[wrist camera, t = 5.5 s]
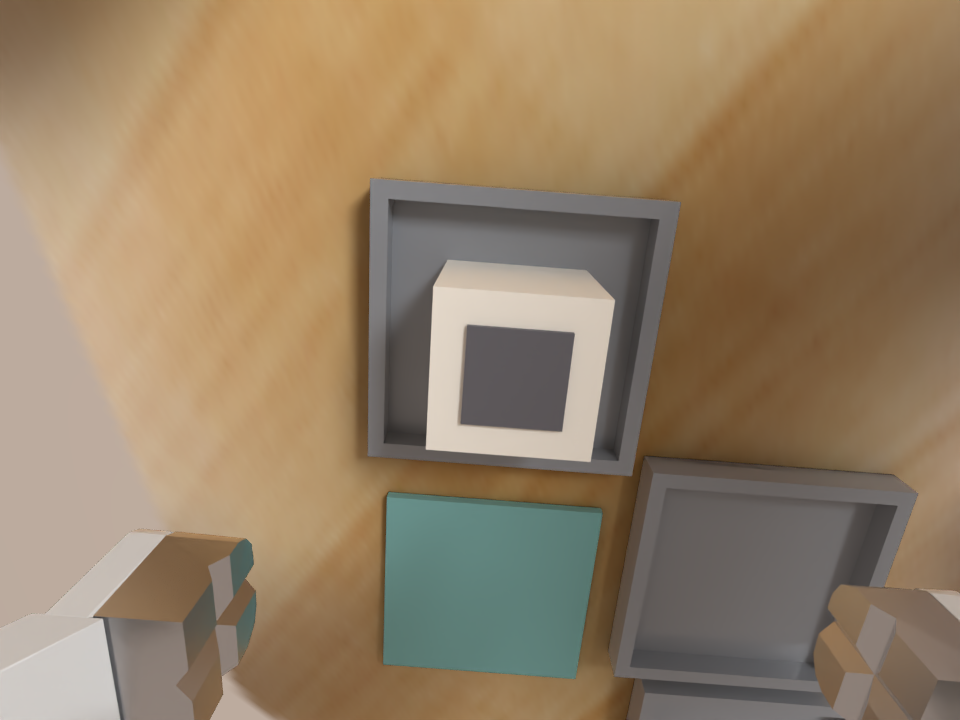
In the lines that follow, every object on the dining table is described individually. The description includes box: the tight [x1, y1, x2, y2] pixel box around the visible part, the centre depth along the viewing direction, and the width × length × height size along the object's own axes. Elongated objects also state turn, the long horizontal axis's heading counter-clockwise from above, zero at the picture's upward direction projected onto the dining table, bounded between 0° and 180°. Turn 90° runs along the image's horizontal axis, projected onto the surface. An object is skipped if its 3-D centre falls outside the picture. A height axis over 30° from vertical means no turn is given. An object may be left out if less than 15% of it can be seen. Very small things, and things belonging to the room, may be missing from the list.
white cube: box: [426, 260, 615, 462], centre depth 18 cm, size 5×5×5 cm
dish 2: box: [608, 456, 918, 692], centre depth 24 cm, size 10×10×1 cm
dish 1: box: [368, 178, 681, 476], centre depth 21 cm, size 10×10×1 cm
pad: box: [383, 492, 603, 679], centre depth 25 cm, size 9×9×1 cm
